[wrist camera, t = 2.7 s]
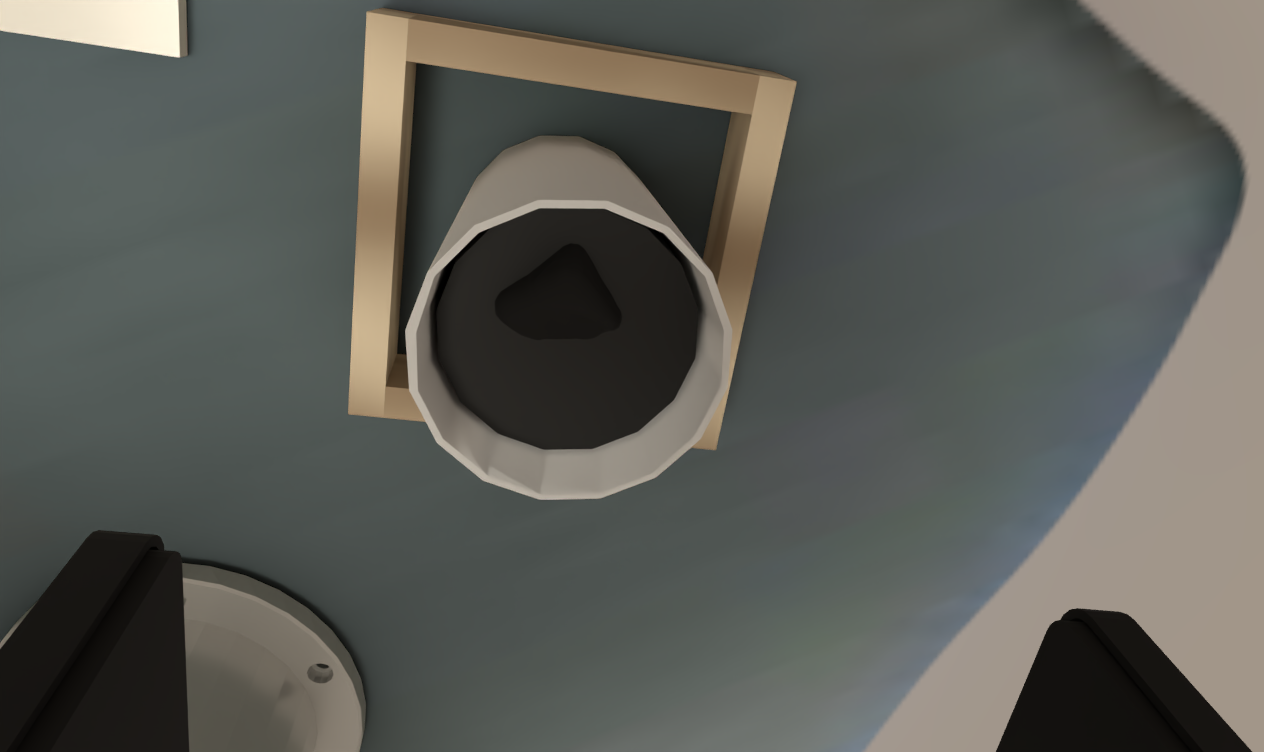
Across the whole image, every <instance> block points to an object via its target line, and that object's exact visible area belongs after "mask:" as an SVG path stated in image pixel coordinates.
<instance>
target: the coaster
mask: <svg viewBox="0 0 1264 752" xmlns="http://www.w3.org/2000/svg"><path fill="white" fill-rule="evenodd" d="M0 31H7V32H13V33H20V34H27V35H33V36H40V37H47V38H53V39H60V40H66V41H73V42H80V43H86V44H93V45H100V46H106V47H113V48H120V49H126V50H133V51H139V52H146V53H153V54H159V55H166V56H173V57H179V58H180V57H184V56H188V54H187V12H186V0H0Z"/></svg>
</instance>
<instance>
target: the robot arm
mask: <svg viewBox="0 0 1264 752" xmlns="http://www.w3.org/2000/svg"><path fill="white" fill-rule="evenodd" d="M365 716H366V701H365V696H364V691H363V686H362V680H361V678H360V676H359V673H358V671H357V669H356V667H355V664H354V662H353V660H352V658H351V656H350V654H349V652H348V651H347V650H346V648H345V647H344V646H343V644H342V643H341V642H340V640H339V639H338V638H337V636H336V635H335V634H334V632H333V631H332V630H331V629H330V628H329V627H328V626H327V625H326V624H325V623H324V622H322V621H321V620H320V619H319V618H318V617H317V616H316V615H315V614H314V613H313V612H312V611H310V610H309V609H308V608H307V607H305V606H304V605H302V604H300V603H299V602H297V601H296V600H294V599H293V598H291V597H289V596H288V595H286V594H285V593H283V592H282V591H280V590H278V589H276V588H273V587H271V586H269V585H266V584H264V583H262V582H260V581H257V580H255V579H253V578H250V577H248V576H246V575H242V574H238V573H234V572H230V571H227V570H223V569H219V568H215V567H211V566H205V565H196V564H187V563H182V558H181V556H180V553H178V552H176V551H164V544H163V542H162V539H161V537H159V536H158V535H152V534H139V533H127V532H114V531H101V530H98V531H95V532H93V533H92V534H90V535H89V536H88V537H87V538H86V540H85V541H84V542H83V544H82V545H81V546H80V547H79V549H78V550H77V551H76V553H75V554H74V555H73V556H72V558H71V559H70V560H69V562H68V563H67V564H66V565H65V567H64V568H63V569H62V570H61V572H60V573H59V574H58V576H57V577H56V578H55V579H54V581H53V582H52V583H51V585H50V586H49V587H48V588H47V590H46V591H45V592H44V594H43V595H42V596H41V597H40V599H39V600H38V601H37V602H36V603H35V604H34V605H33V606H32V607H31V608H30V609H29V610H28V611H27V612H26V613H25V614H24V615H23V616H22V617H21V618H20V619H19V620H18V621H17V622H16V623H15V624H14V626H13V627H12V628H11V630H10V631H9V632H8V633H7V635H6V636H5V637H4V639H3V640H2V641H1V642H0V752H360V748H361V743H362V739H363V735H364V731H365ZM996 752H1252V751H1251V750H1250V749H1249V748H1248V747H1247V746H1246V744H1245V743H1244V742H1243V741H1242V740H1241V739H1240V738H1239V737H1238V736H1237V734H1236V733H1235V732H1234V731H1233V730H1232V729H1231V728H1230V727H1229V725H1228V724H1227V723H1226V722H1225V721H1224V720H1223V719H1222V718H1221V717H1220V715H1219V714H1218V713H1217V712H1216V711H1215V710H1214V709H1213V707H1212V706H1211V705H1210V704H1209V703H1208V702H1207V701H1206V700H1205V699H1204V697H1203V696H1202V695H1201V694H1200V693H1199V692H1198V691H1197V690H1196V689H1195V688H1194V686H1193V685H1192V684H1191V683H1190V682H1189V681H1188V679H1187V678H1186V677H1185V676H1184V675H1183V674H1182V673H1181V672H1180V671H1179V669H1177V667H1176V666H1175V665H1174V664H1173V663H1172V662H1171V660H1170V659H1169V658H1168V657H1167V656H1166V655H1165V654H1164V653H1163V652H1162V650H1161V649H1160V648H1159V647H1158V646H1157V645H1156V644H1155V643H1154V641H1152V639H1151V638H1150V637H1149V636H1148V635H1147V634H1146V633H1145V632H1144V630H1143V629H1142V628H1141V627H1140V626H1139V625H1138V624H1137V622H1136V621H1135V620H1134V619H1132V618H1131V617H1130V616H1129V615H1127V614H1124V613H1121V612H1114V611H1103V610H1090V609H1078V608H1077V609H1071V610H1069V611H1068V612H1067V613H1065V614H1064V615H1063V616H1062V618H1061V620H1059V621H1055V622H1053V623H1052V624H1051V625H1050V626H1049V628H1048V630H1047V632H1046V634H1045V636H1044V639H1043V641H1042V644H1041V646H1040V648H1039V651H1038V653H1037V655H1036V658H1035V660H1034V663H1033V665H1032V668H1031V670H1030V673H1029V675H1028V677H1027V679H1026V682H1025V684H1024V686H1023V689H1022V691H1021V693H1020V696H1019V698H1018V701H1017V703H1016V705H1015V708H1014V710H1013V712H1012V715H1011V717H1010V720H1009V722H1008V724H1007V727H1006V729H1005V732H1004V734H1003V736H1002V739H1001V741H1000V744H999V746H998V748H997V750H996Z"/></svg>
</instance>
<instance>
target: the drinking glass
mask: <svg viewBox="0 0 1264 752" xmlns="http://www.w3.org/2000/svg"><path fill="white" fill-rule="evenodd" d="M405 336H406V351H407V366H408V381H409V391H410V393H411V395H412V397H413V399H414V401H415V403H416V404H417V406H418V408H419V410H420V412H421V414H422V416H423V418H424V419H425V421H426V423H427V425H428V427H429V429H430V431H431V433H432V434H433V436H434V438H435V440H436V442H437V443H438V444H439V445H440V446H441V447H443V448H444V449H445V450H446V451H447V452H449V453H450V454H451V455H452V456H454V457H455V458H456V459H457V460H458V461H460V462H461V463H462V464H463V465H464V466H466V467H467V468H468V469H469V470H471V471H472V472H473V473H474V474H475V475H477V476H478V477H479V478H480V479H482V480H483V481H485V482H488V483H491V484H494V485H497V486H500V487H503V488H506V489H509V490H512V491H515V492H518V493H521V494H524V495H527V496H530V497H533V498H536V499H539V500H555V499H600V498H603V497H606V496H608V495H611V494H614V493H616V492H619V491H622V490H624V489H627V488H630V487H632V486H635V485H637V484H640V483H643V482H645V481H648V480H651V479H653V478H656V477H657V476H658V475H659V474H661V473H662V472H663V471H664V470H665V469H666V468H668V467H669V466H670V465H671V464H672V463H673V462H675V461H676V460H677V459H678V458H679V457H680V456H682V455H683V454H684V453H685V452H686V451H687V450H689V449H690V448H691V447H692V446H693V445H694V444H696V443H697V442H698V441H699V440H700V439H701V437H702V435H703V434H704V432H705V430H706V428H707V426H708V424H709V422H710V420H711V418H712V417H713V415H714V413H715V411H716V409H717V407H718V405H719V403H720V401H721V400H722V398H723V396H724V394H725V392H726V390H727V388H728V378H729V366H730V354H731V342H732V327H731V324H730V321H729V318H728V316H727V313H726V310H725V307H724V304H723V301H722V299H721V296H720V293H719V290H718V287H717V284H716V282H715V279H714V276H713V273H712V272H711V270H710V269H709V268H708V267H707V265H706V264H705V263H704V261H703V260H702V259H701V258H700V256H699V255H698V254H697V252H696V251H695V250H694V249H693V247H692V246H691V245H690V243H689V242H688V241H687V239H686V238H685V237H684V236H683V234H682V233H681V232H680V230H679V229H678V228H677V227H676V225H675V224H674V223H673V221H672V220H671V219H670V218H669V216H668V215H667V214H666V212H665V211H664V210H663V209H662V207H661V206H660V205H659V203H658V202H657V201H656V200H655V198H654V197H653V196H652V194H651V193H650V192H649V191H648V189H647V188H646V187H645V185H644V184H643V183H642V181H641V180H640V179H639V178H638V177H637V176H636V174H635V173H634V172H633V171H632V170H631V169H630V168H629V167H628V166H627V165H626V164H625V163H624V162H623V161H622V160H621V159H620V157H619V156H618V155H617V154H616V153H615V152H613V151H611V150H609V149H606V148H604V147H602V146H600V145H597V144H595V143H593V142H591V141H588V140H586V139H584V138H582V137H579V136H537V137H535V138H532V139H530V140H527V141H525V142H522V143H520V144H517V145H515V146H512V147H510V148H507V149H505V150H503V151H502V152H501V153H500V154H499V155H498V156H497V157H496V158H495V159H494V160H493V161H492V162H491V163H490V164H489V165H488V166H487V167H486V168H485V169H484V170H483V171H482V172H481V173H480V174H479V175H478V176H477V177H476V179H475V181H474V183H473V185H472V187H471V189H470V191H469V193H468V195H467V197H466V199H465V201H464V203H463V205H462V207H461V208H460V210H459V212H458V214H457V216H456V218H455V220H454V222H453V224H452V226H451V228H450V230H449V232H448V233H447V235H446V237H445V239H444V241H443V243H442V245H441V247H440V249H439V251H438V253H437V255H436V257H435V259H434V260H433V262H432V264H431V266H430V268H429V270H428V272H427V275H426V277H425V280H424V283H423V285H422V288H421V290H420V293H419V296H418V298H417V301H416V303H415V306H414V309H413V311H412V314H411V316H410V319H409V322H408V324H407V327H406V329H405Z"/></svg>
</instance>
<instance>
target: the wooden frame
mask: <svg viewBox="0 0 1264 752" xmlns="http://www.w3.org/2000/svg"><path fill="white" fill-rule="evenodd" d="M416 63H423V64H429V65H436V66H442V67H449V68H455V69H461V70H468V71H474V72H481V73H487V74H494V75H500V76H506V77H513V78H519V79H526V80H532V81H539V82H545V83H551V84H558V85H564V86H571V87H577V88H584V89H590V90H596V91H603V92H609V93H616V94H622V95H629V96H635V97H641V98H648V99H654V100H661V101H667V102H674V103H680V104H686V105H693V106H699V107H706V108H712V109H719V110H725V111H731V112H732V113H731V118H730V123H729V128H728V133H727V138H726V143H725V148H724V153H723V159H722V164H721V169H720V174H719V179H718V184H717V189H716V194H715V199H714V205H713V210H712V215H711V220H710V225H709V230H708V235H707V240H706V245H705V250H704V256H703V261H704V263H705V264H706V265H707V267H708V268H709V269H710V270H711V272H712V273H713V276H714V279H715V282H716V284H717V287H718V290H719V293H720V296H721V299H722V301H723V304H724V307H725V310H726V313H727V316H728V318H729V321H730V324H731V327H732V342H731V354H730V366H729V378H728V388H727V390H726V392H725V394H724V396H723V398H722V400H721V401H720V403H719V405H718V407H717V409H716V411H715V413H714V415H713V417H712V418H711V420H710V422H709V424H708V426H707V428H706V430H705V432H704V434H703V435H702V437H701V439H700V440H699V441H698V442H697V443H696V444H694V445H693V446H692V447H691V448H699V449H709V450H716V447H717V443H718V438H719V433H720V429H721V424H722V420H723V415H724V411H725V406H726V402H727V397H728V392H729V388H730V383H731V379H732V374H733V370H734V365H735V361H736V356H737V351H738V347H739V342H740V338H741V333H742V329H743V324H744V320H745V315H746V310H747V306H748V301H749V297H750V292H751V288H752V283H753V279H754V274H755V269H756V265H757V260H758V256H759V251H760V247H761V242H762V238H763V233H764V229H765V224H766V219H767V215H768V210H769V206H770V201H771V197H772V192H773V188H774V183H775V178H776V174H777V169H778V165H779V160H780V156H781V151H782V147H783V142H784V137H785V133H786V128H787V124H788V119H789V115H790V110H791V106H792V101H793V96H794V92H795V87H796V83H797V82H796V81H794V80H792V79H789V78H787V77H785V76H782V75H780V74H778V73H776V72H772V71H766V70H759V69H753V68H747V67H741V66H735V65H729V64H723V63H717V62H711V61H704V60H698V59H692V58H686V57H680V56H674V55H668V54H662V53H655V52H649V51H643V50H637V49H631V48H625V47H619V46H613V45H607V44H600V43H594V42H588V41H582V40H576V39H570V38H564V37H558V36H552V35H545V34H539V33H533V32H527V31H521V30H515V29H509V28H503V27H496V26H490V25H484V24H478V23H472V22H466V21H460V20H454V19H448V18H441V17H435V16H429V15H423V14H417V13H411V12H405V11H399V10H393V9H386V8H379V9H375V10H372V11H368V12H367V17H366V39H365V61H364V82H363V104H362V126H361V147H360V169H359V191H358V212H357V234H356V256H355V277H354V299H353V321H352V342H351V364H350V386H349V407H348V414H352V415H362V416H372V417H382V418H392V419H403V420H413V421H423V422H426V421H425V419H424V418H423V416H422V414H421V412H420V410H419V408H418V406H417V404H416V403H415V401H414V399H413V397H412V395H411V393H410V391H409V381H408V366H407V355H405V354H397V346H398V331H399V316H400V301H401V286H402V271H403V256H404V241H405V226H406V211H407V197H408V182H409V167H410V152H411V137H412V122H413V107H414V92H415V77H416Z"/></svg>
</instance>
